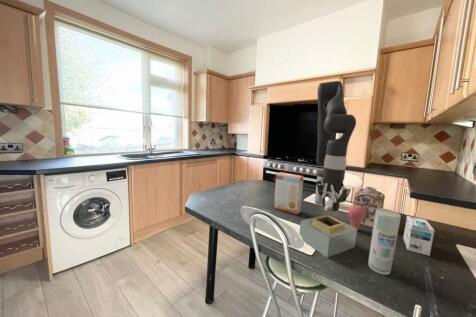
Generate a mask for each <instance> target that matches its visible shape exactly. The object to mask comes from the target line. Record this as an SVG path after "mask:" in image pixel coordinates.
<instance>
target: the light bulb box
mask: <svg viewBox="0 0 476 317" xmlns="http://www.w3.org/2000/svg"><path fill="white" fill-rule="evenodd" d="M434 236H435V229H434V227H433V226H432V225H431V223H430V222H429V221H428V220H427V219H424V218H419V217H415V216H410V215H406V218H405V226H404V233H403V236H402V238H403V242H404V244H405V247H406V249H407V251H411V252H412V253H413V252H415V253H418V254H421V255H424V256H428V257H430V256H431V255H430V254H431V251H432V244H433V240H434Z"/></svg>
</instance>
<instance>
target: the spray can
mask: <svg viewBox="0 0 476 317" xmlns="http://www.w3.org/2000/svg"><path fill="white" fill-rule="evenodd" d="M401 217H402V216H401V213H399V212H397V211H394V210H391V209H388V208H383V209H382V208H379V209H376V212H375V219H374V226H373V228H372V234H371V239H370V241H371V242H370V248H369V254H368V262H367V263H368V264H367V265H368V267H369V268H370V269H371V270H372V271H373V272H376V273H377V274H381V275H385V276H386V275H390V273H391V271H392V267H393V266H392V265H393V260H394V255H395V250H396V245H397V239H398V234H399V228H400V222H401Z"/></svg>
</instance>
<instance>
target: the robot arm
mask: <svg viewBox="0 0 476 317" xmlns="http://www.w3.org/2000/svg"><path fill="white" fill-rule="evenodd" d="M326 102H327V103H326ZM325 103H326V105H325ZM317 109H318V110H317V112H318V113H317V114H318V115H317V117H318V118H317V147H316V148H317V150H316V164H317V165H318V166H323V170H318V171H317V176H316V186H315V196H314V203H315V204H317V205H320V206H322V207H323V208H324V205H325V196H333V200H334V202H333V208H332V211H331V212H334V213H335V212H338V211H339V208H340V203H345V202H346V200H347V198H348V197H349V194H350V192H351V188H347V187H346V186H344V180H345V178H346V177H345V176H346V169H347V168H346V167H347V154H348V153H347V152H348V145H349V142H350V139H351V138H352V134H353V132H354V131H355V128H356V126H357V119H356V117H355V116H354V115H353V114H347V113H348V112H347V109H346V105H345V99H344V86H343V83H342V82H341V81H340V80H334V81H327V82H321V83H319V84H318V86H317ZM336 134H342V135H340V137H339V138H334V137H335V135H336ZM325 147H326V149H325ZM324 149H325V150H324Z"/></svg>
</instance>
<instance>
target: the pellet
mask: <svg viewBox="0 0 476 317" xmlns="http://www.w3.org/2000/svg"><path fill="white" fill-rule="evenodd" d="M333 202H334V200H333V196H325V205H324V207H323V210H325V211H327V212H333V211H332V208H333Z"/></svg>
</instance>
